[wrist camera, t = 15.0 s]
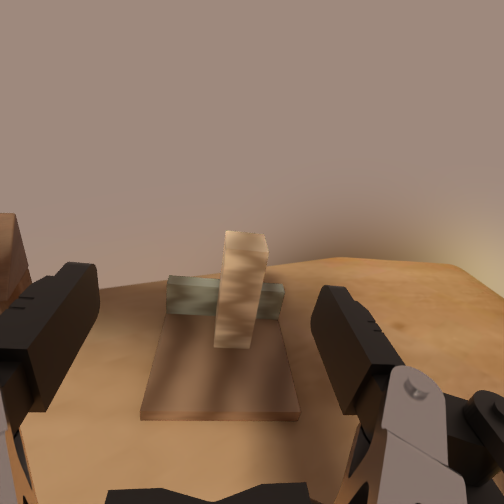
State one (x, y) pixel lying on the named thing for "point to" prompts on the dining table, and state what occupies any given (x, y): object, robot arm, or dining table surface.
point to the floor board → (218, 361)
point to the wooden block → (11, 262)
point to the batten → (239, 288)
